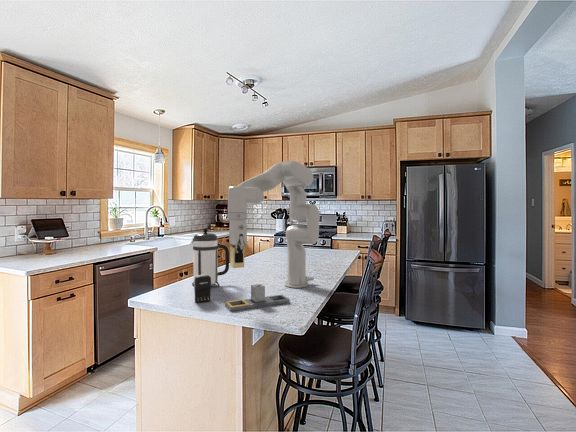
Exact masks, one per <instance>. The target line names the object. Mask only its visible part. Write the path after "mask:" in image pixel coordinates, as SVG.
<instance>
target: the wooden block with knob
mask: <svg viewBox="0 0 576 432" xmlns="http://www.w3.org/2000/svg"><path fill="white" fill-rule="evenodd" d="M229 248H230V249H229V267H230V268H232V269H238V268H240V269H241V268H245V248H244V249H243V263H235V253H236V247H231V246H230V247H229Z"/></svg>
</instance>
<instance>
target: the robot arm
mask: <svg viewBox="0 0 576 432" xmlns="http://www.w3.org/2000/svg"><path fill="white" fill-rule="evenodd" d="M313 182H314V173H313V171H312V170H311V169H310V168H308V167H307V166H305V165H304V164H302V163H301V162H298V161H295V160H290V161H289V160H287V161H279V162H277V163H275V164H274V165H272V166H271V167H269V168H268V169H266V170H265V171H264V172H263V173H261V174H260V173H259V174H258V175H256V176H254V177H251V178H249V179H246V180H244V181H243V182H241V183H239V184H238V185H237V186H235V185H232V186H229V187H228V189H227V221H229V229H228V240H229V244H230V247H236V253H235V263H243V249H244V250H245V246H246V245H247V244H248V230H247V229H248V228H247V222H246V221H247V214H248V213H247V212H248V211H247V210H248V209H247V207H248V206H249V205H250V206H251V205H254V206H255V205H259V204H261V203H262V201H263V200H264V196H265V194H264V193H265V192H269V191H272V190H274V189H276V188H277V187H278V186H279V185H280V184H281V183H282V184H283V185H284V186H285V188H286V190H287V191H288V194H289V219H290V221H292V222H293V223H303V224H304V223H305V224H304V225H303V224H292V225H289V226H288V227H287V228H286V230H285V239H286V246H287V273H286V274H287V278H286V279H287V281H285V282H284V286H285V287H287V288H292V289H299V288H300V289H302V288H303V289H304V288H306V287H308V286H309V285H310V284H309V281H310V282H311V281H314V280H315V278H314V276H307V275H306V272H307V271H306V270H307V269H306V265H307V261H306V260H307V259H306V258H307V254H306V252H307V251H306V249H305V246H304V245H315V244H317V242H318V240H319V235H320V209H319V207H318V206H317V205H315V204H312V203H309V204H308V203H307V193H306V191H305V189H304V188H303V187H309V186H311V185H312V184H313ZM247 205H248V206H247Z"/></svg>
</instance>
